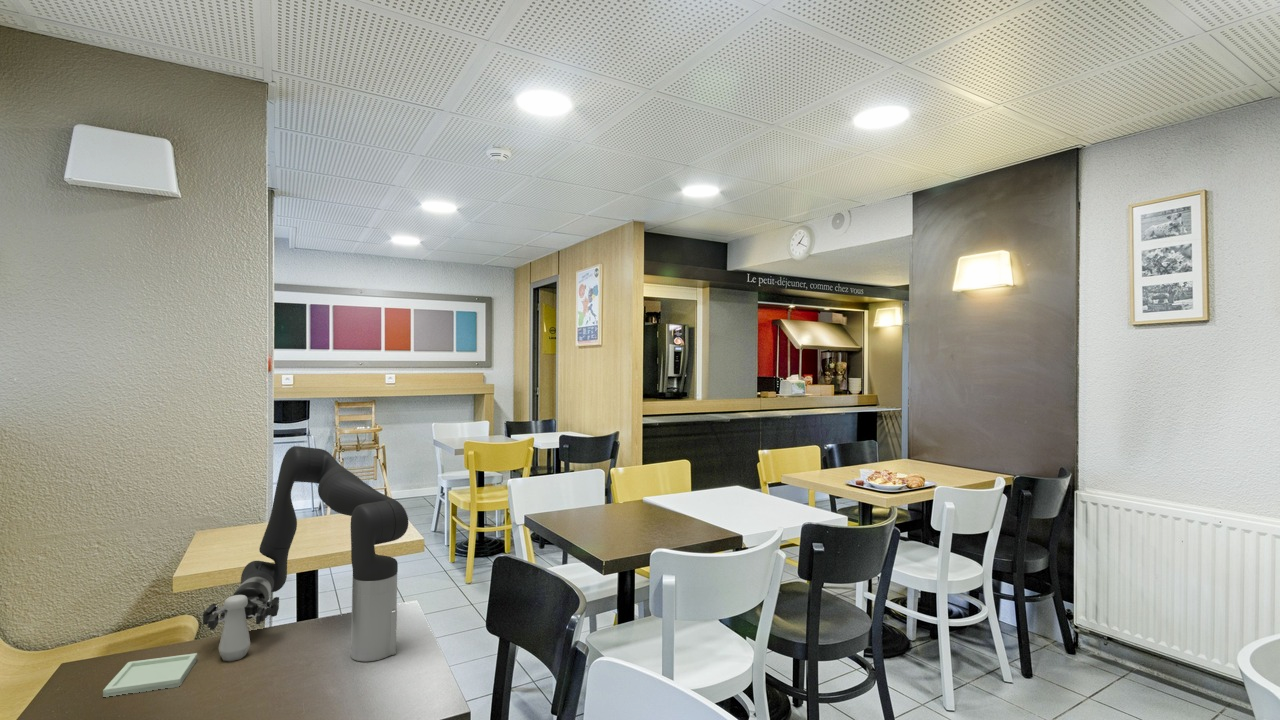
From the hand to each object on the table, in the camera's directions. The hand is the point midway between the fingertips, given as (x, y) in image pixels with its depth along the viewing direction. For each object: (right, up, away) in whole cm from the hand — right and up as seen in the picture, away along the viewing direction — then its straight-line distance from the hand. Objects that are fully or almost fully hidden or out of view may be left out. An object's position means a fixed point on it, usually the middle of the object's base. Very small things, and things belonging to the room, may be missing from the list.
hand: (235, 622), depth 134 cm
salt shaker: (0, -8, 0) cm, 8 cm away
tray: (-10, -7, -10) cm, 16 cm away
